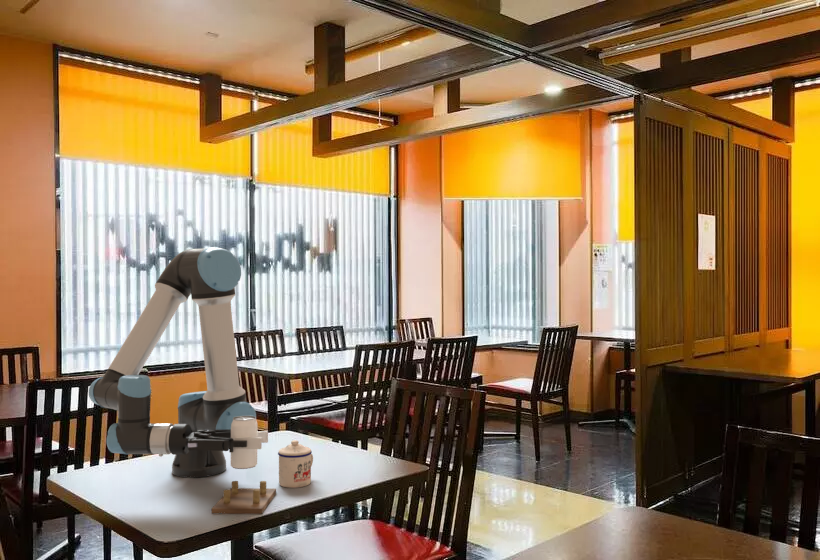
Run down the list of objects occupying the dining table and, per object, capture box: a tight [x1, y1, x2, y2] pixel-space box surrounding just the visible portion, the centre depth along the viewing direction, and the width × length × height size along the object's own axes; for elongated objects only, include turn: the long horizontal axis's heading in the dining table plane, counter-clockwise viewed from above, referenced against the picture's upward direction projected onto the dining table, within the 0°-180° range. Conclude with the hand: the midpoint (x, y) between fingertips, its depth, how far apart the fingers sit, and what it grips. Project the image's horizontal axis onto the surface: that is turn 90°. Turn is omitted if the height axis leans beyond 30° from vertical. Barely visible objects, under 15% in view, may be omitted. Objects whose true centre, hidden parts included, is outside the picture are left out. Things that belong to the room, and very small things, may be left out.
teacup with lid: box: [277, 439, 314, 489], centre depth 191 cm, size 12×9×12 cm
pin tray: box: [211, 480, 277, 515], centre depth 174 cm, size 16×12×4 cm
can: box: [230, 416, 259, 470], centre depth 173 cm, size 6×6×12 cm
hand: (264, 440), depth 173 cm, fingers closed on can, 6 cm apart
